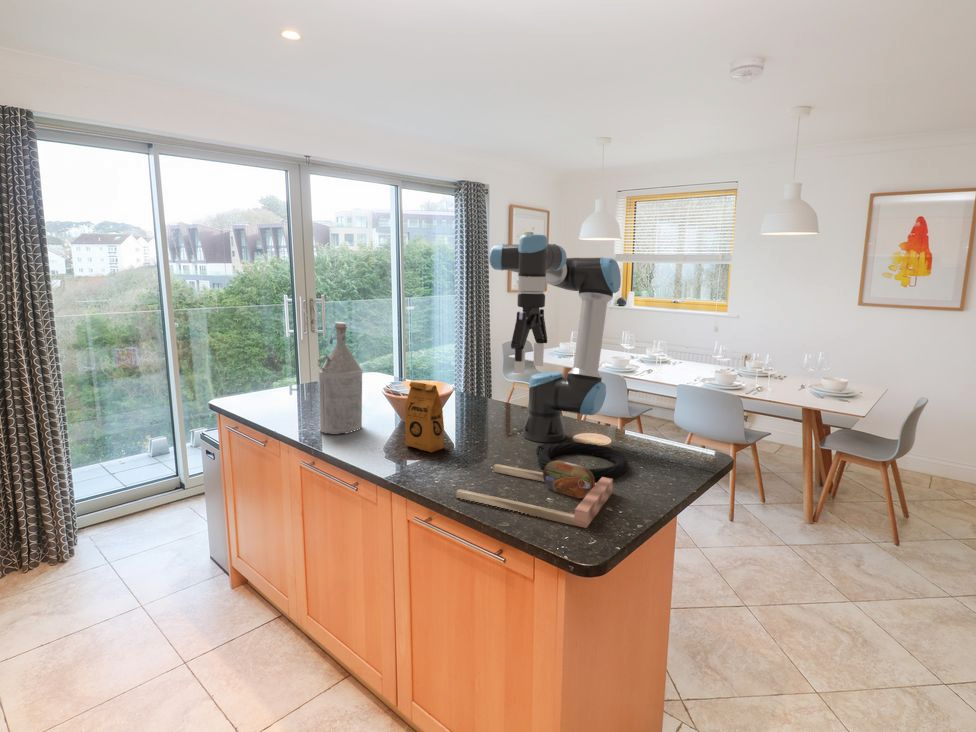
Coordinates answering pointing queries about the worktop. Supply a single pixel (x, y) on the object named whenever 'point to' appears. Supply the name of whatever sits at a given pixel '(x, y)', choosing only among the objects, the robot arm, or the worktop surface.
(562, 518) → the stop channel
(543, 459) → the cable lock
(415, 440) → the coffee package
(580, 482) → the tin
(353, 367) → the grey jug bottle
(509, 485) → the worktop surface
